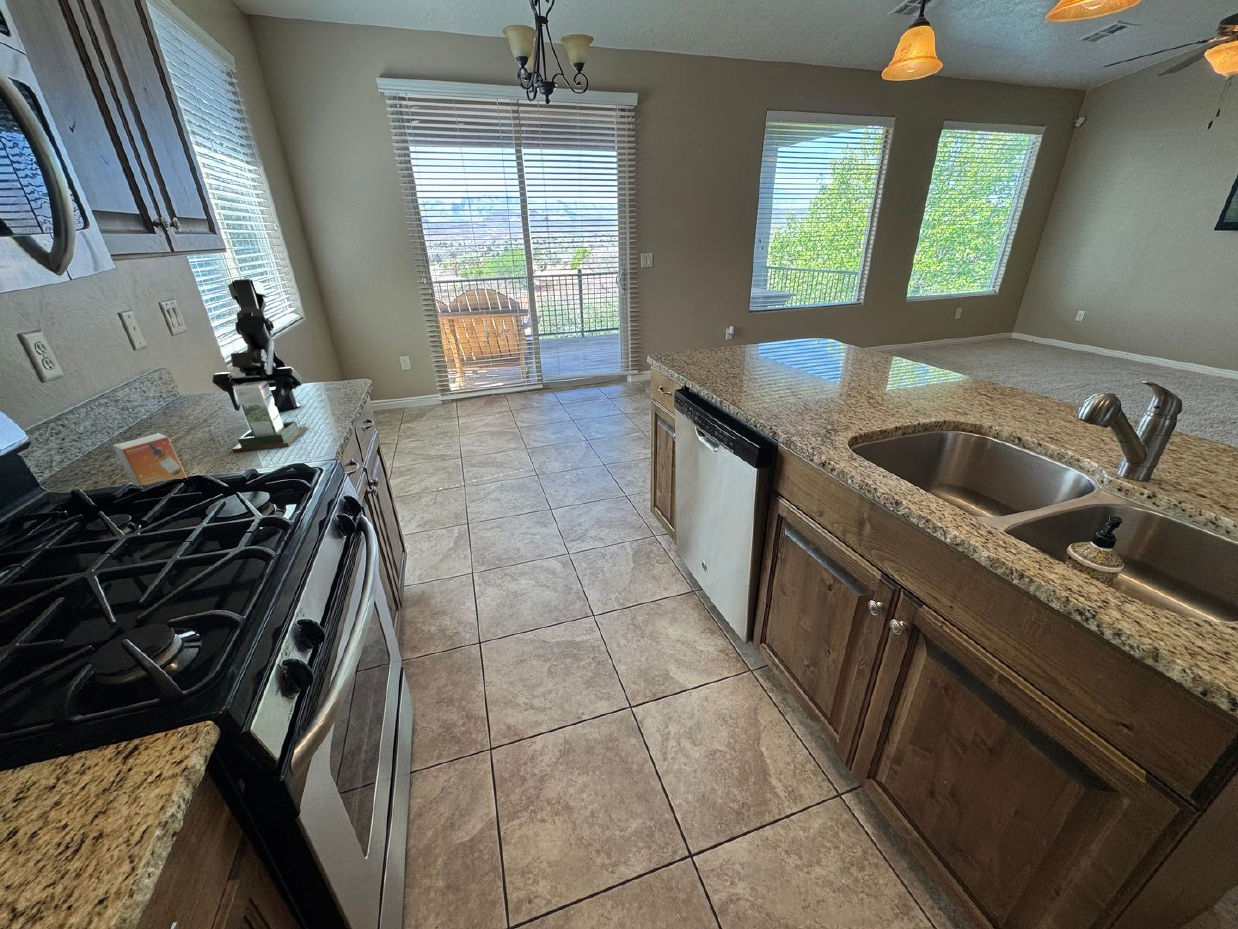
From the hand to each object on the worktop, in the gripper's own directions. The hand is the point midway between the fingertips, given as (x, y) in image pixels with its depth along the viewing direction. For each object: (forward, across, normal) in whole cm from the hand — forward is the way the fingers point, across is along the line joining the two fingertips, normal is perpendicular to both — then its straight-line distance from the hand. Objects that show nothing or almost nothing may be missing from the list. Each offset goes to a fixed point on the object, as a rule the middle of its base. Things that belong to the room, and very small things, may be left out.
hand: (256, 408), depth 125 cm
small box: (+21, -14, -8) cm, 27 cm away
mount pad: (+6, 0, +8) cm, 10 cm away
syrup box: (+5, 0, +7) cm, 9 cm away
